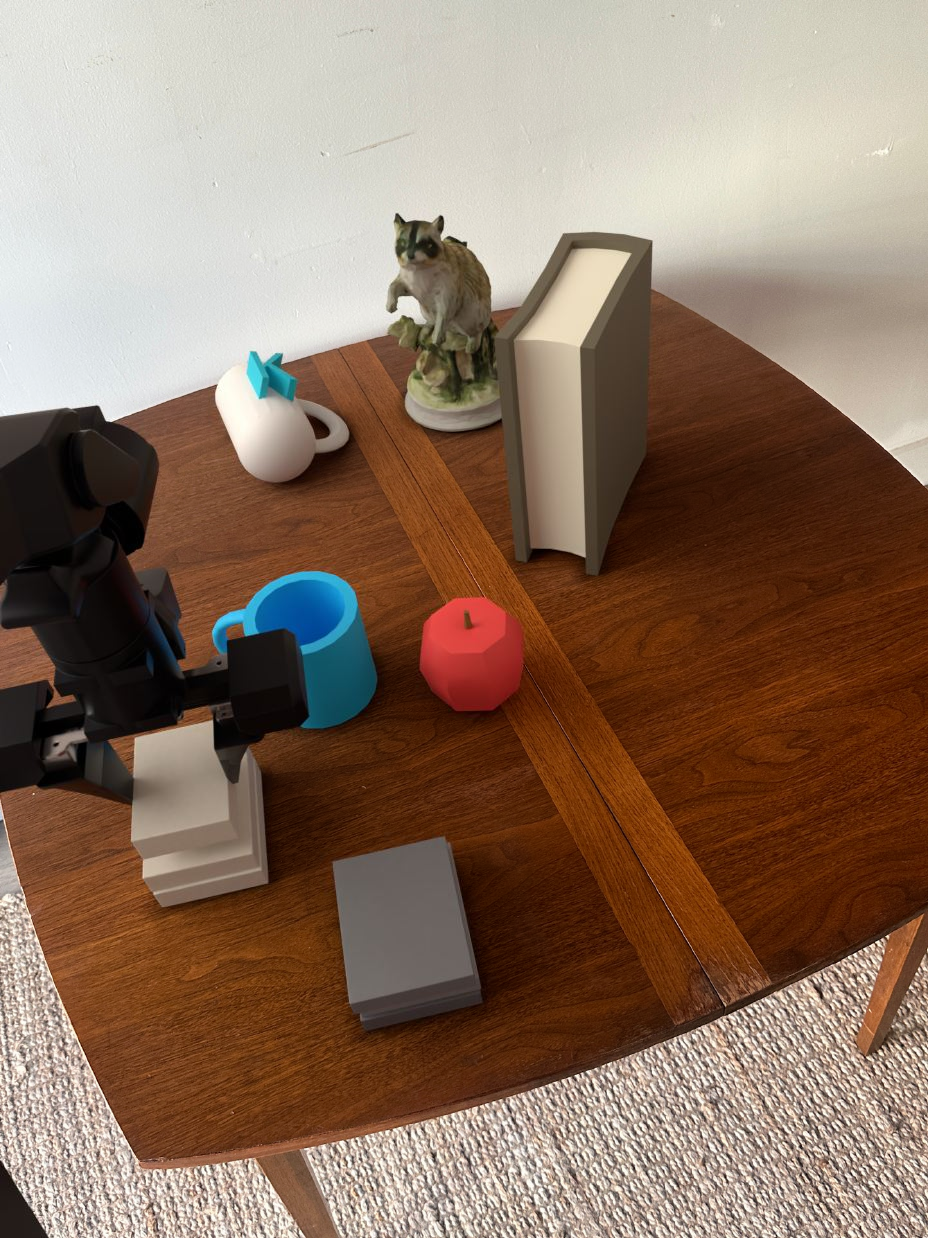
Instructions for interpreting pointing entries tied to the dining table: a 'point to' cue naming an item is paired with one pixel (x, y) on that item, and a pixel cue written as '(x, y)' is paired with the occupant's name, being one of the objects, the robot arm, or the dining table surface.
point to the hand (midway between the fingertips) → (186, 788)
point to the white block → (180, 793)
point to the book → (576, 393)
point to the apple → (472, 654)
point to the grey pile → (405, 934)
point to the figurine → (445, 329)
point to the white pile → (217, 853)
